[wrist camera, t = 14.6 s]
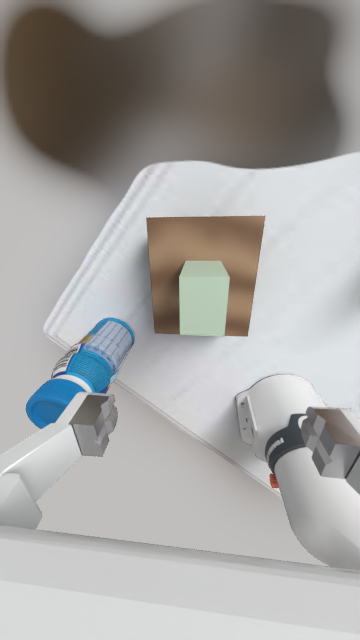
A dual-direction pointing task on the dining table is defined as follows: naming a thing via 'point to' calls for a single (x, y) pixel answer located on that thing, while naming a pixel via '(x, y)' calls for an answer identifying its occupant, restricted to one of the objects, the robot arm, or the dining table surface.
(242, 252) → the wooden footstool
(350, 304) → the dining table surface
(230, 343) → the dining table surface
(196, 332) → the sage block
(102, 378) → the beverage bottle
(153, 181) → the dining table surface
